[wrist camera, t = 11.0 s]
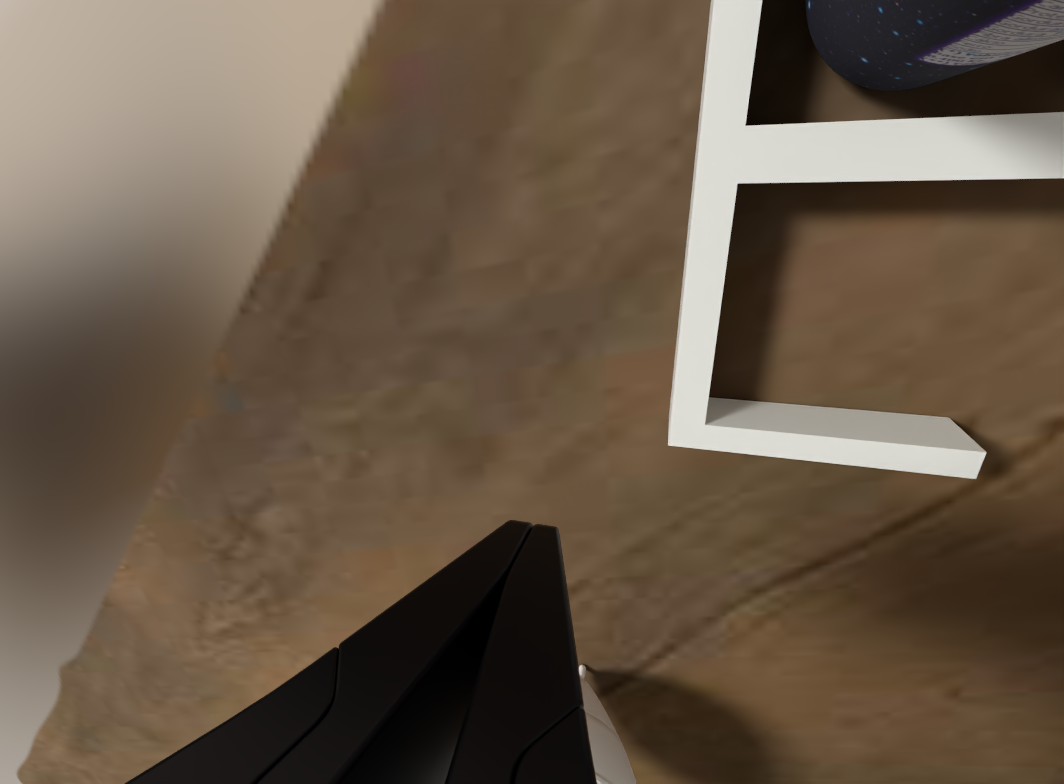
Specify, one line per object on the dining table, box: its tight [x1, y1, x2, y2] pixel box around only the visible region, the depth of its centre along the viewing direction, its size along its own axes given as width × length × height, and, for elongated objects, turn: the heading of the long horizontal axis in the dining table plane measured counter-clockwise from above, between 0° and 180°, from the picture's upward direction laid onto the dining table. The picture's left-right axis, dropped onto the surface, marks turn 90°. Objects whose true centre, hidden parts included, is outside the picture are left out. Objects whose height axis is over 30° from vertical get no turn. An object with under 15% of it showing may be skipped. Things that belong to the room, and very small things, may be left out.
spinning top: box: [579, 665, 637, 784], centre depth 23 cm, size 8×8×12 cm
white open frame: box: [668, 0, 1064, 479], centre depth 14 cm, size 10×20×2 cm, turn 2°
